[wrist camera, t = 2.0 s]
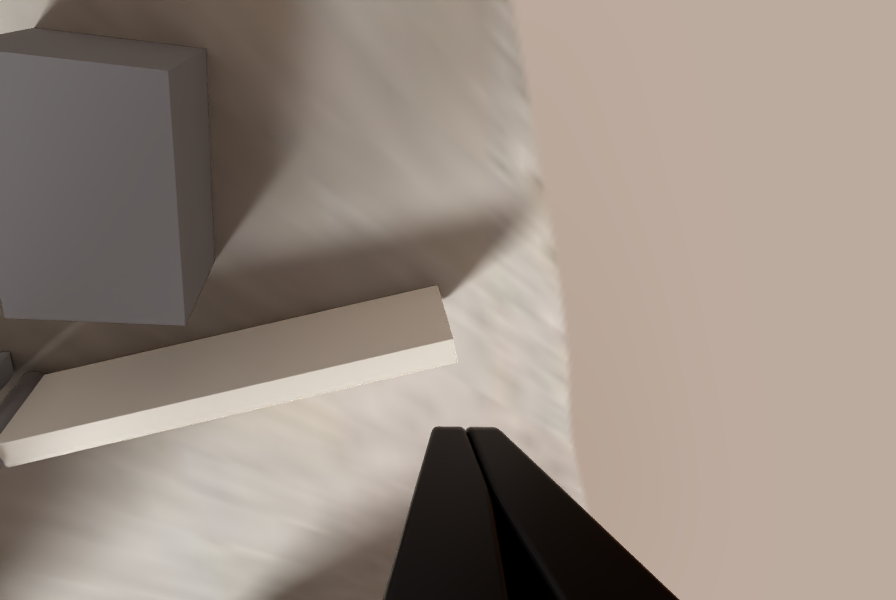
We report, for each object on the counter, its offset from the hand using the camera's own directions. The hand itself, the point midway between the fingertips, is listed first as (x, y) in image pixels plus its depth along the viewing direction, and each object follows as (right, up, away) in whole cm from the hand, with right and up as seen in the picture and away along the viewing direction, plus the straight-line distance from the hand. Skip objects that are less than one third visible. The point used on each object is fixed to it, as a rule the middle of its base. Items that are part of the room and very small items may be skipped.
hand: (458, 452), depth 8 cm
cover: (-7, +1, +12) cm, 14 cm away
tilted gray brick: (-9, +6, +9) cm, 14 cm away
